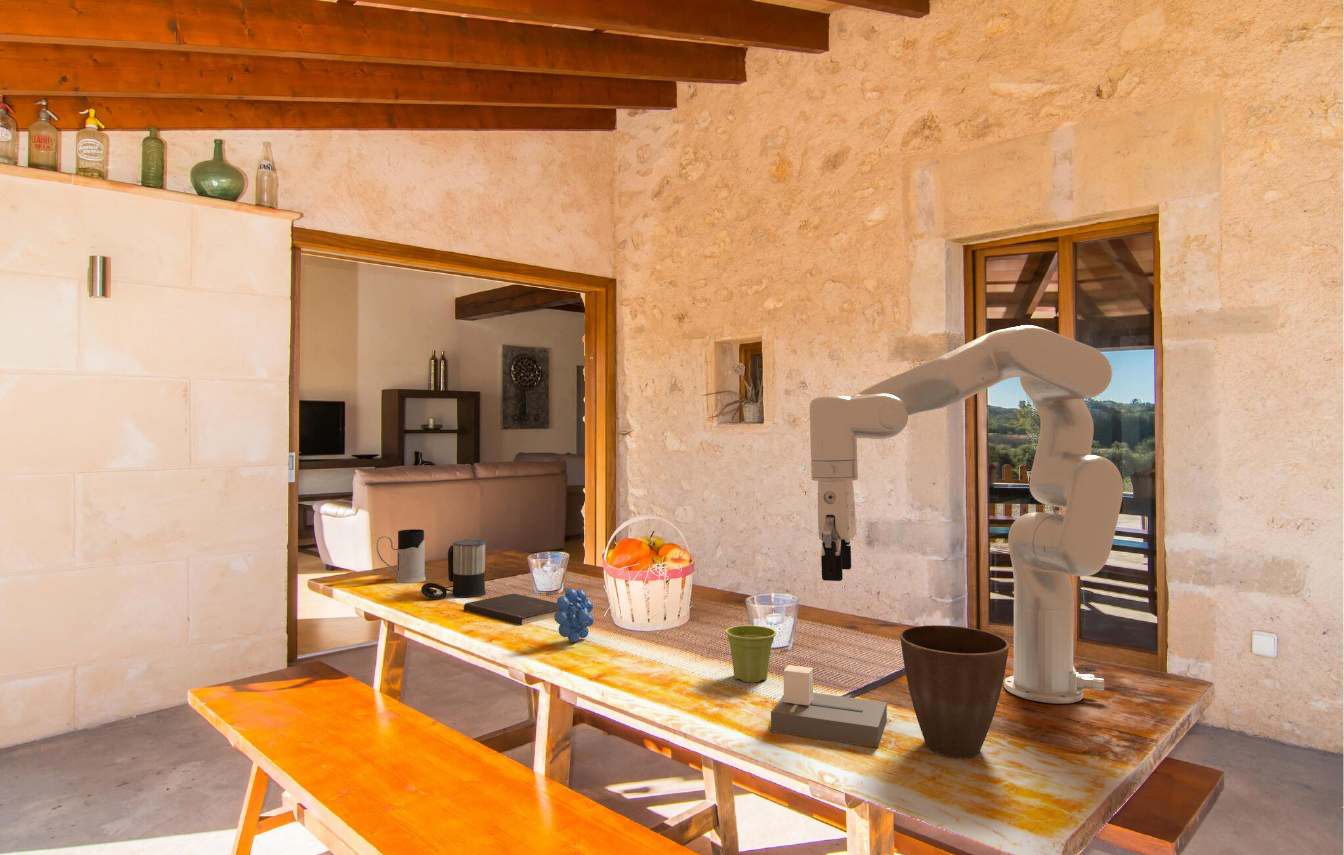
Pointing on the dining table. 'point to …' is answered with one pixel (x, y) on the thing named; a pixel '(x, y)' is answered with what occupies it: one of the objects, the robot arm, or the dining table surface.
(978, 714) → the plant pot
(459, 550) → the milk frother
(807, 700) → the block
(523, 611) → the hardcover book
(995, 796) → the dining table surface
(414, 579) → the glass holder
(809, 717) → the block
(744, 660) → the plant pot
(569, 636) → the grapes
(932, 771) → the dining table surface
